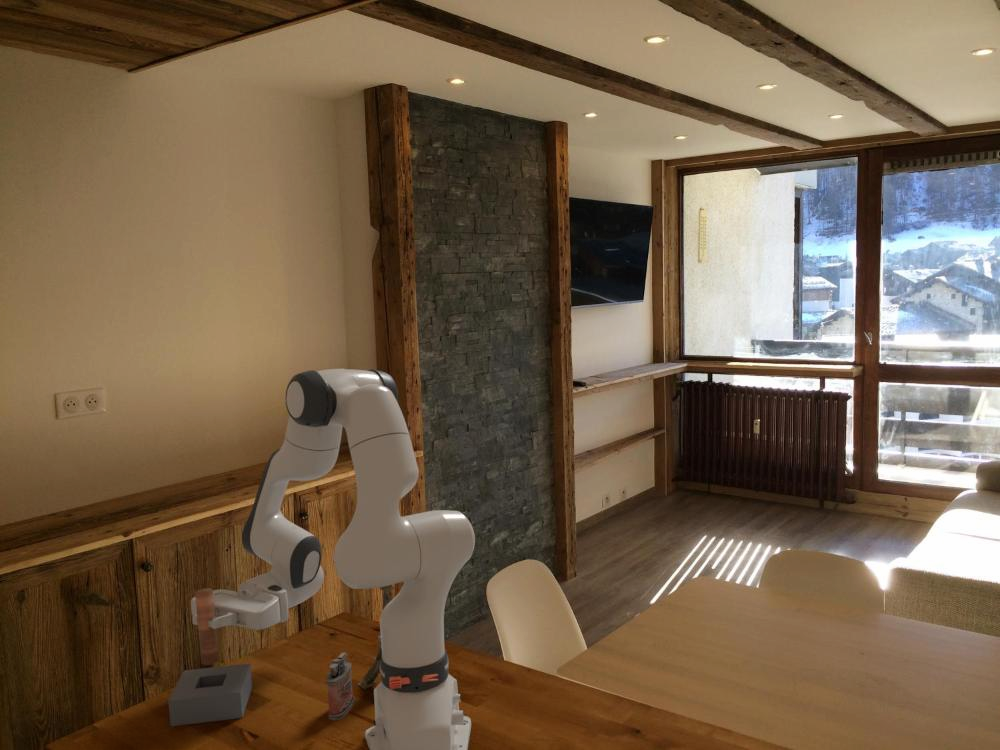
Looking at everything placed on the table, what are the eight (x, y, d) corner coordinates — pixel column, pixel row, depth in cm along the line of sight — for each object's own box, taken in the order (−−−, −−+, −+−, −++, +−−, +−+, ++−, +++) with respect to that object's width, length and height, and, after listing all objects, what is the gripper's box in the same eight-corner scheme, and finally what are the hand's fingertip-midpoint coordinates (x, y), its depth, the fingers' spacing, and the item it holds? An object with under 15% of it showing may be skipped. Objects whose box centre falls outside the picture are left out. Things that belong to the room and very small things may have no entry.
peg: (217, 663, 162) (210, 593, 161) (200, 665, 162) (193, 595, 161) (220, 656, 166) (213, 587, 164) (203, 658, 165) (196, 589, 164)
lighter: (341, 720, 156) (338, 668, 155) (324, 719, 157) (320, 667, 156) (357, 699, 164) (354, 650, 163) (341, 699, 164) (337, 649, 164)
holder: (242, 717, 159) (240, 692, 159) (170, 726, 157) (168, 700, 157) (252, 686, 172) (250, 663, 171) (186, 694, 170) (183, 670, 170)
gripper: (222, 577, 179) (166, 599, 168) (291, 590, 168) (237, 614, 157) (225, 606, 180) (169, 630, 168) (294, 621, 169) (240, 647, 157)
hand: (202, 623), depth 162 cm, fingers closed on peg, 3 cm apart
